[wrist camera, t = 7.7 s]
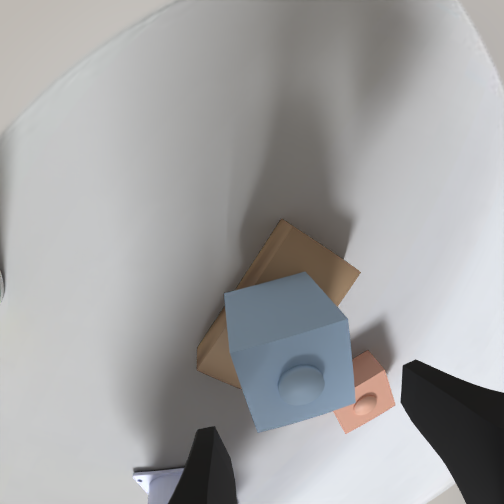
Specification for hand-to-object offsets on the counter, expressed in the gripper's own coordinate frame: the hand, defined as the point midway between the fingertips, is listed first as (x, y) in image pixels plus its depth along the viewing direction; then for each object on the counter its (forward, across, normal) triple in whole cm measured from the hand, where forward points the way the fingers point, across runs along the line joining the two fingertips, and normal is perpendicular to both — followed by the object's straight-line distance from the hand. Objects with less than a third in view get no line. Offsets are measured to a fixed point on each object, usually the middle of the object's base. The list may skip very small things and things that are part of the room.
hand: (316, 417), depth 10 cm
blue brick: (+8, 0, 0) cm, 8 cm away
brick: (+11, -5, +9) cm, 15 cm away
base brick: (+11, 0, 0) cm, 11 cm away
